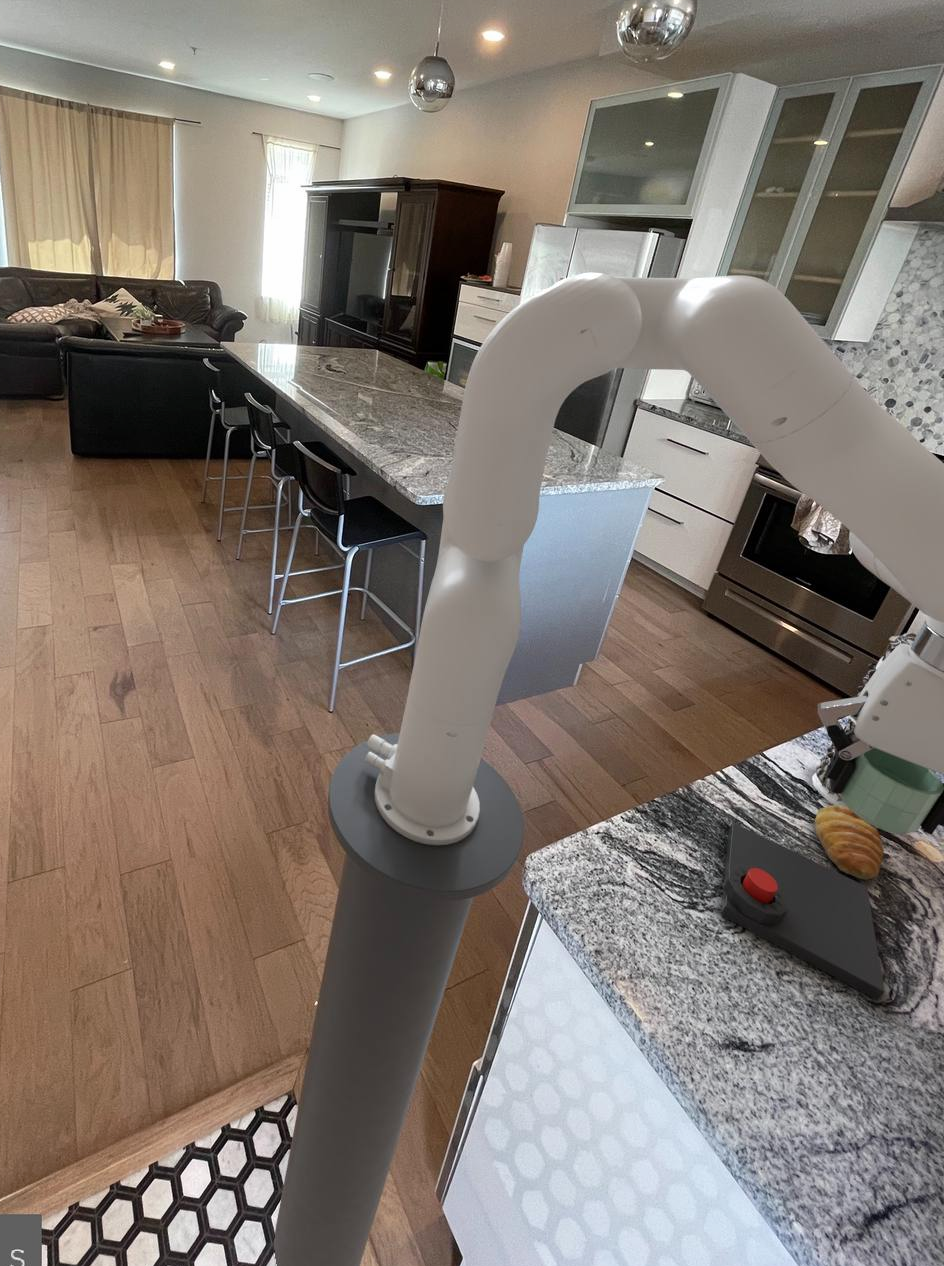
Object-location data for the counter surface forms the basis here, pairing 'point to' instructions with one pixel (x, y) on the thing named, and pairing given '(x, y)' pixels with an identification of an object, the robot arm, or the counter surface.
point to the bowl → (891, 792)
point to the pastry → (849, 841)
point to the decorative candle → (852, 726)
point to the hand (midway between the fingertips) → (878, 803)
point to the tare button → (760, 885)
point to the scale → (804, 910)
